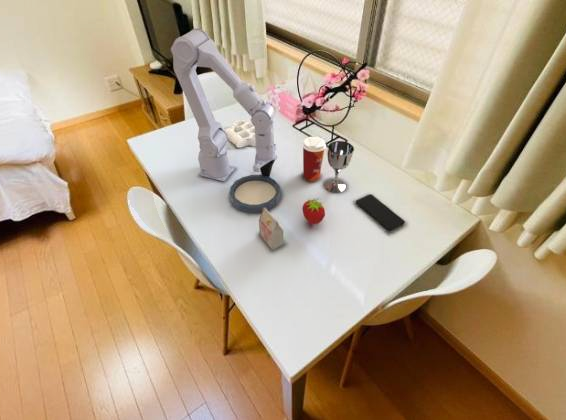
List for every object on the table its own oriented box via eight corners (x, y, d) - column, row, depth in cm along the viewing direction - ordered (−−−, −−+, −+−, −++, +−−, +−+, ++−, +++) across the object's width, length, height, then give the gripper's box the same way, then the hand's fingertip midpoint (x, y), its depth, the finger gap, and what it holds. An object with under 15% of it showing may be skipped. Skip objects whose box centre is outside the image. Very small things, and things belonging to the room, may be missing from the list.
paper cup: (320, 184, 104) (324, 149, 94) (298, 181, 105) (300, 146, 95) (323, 171, 109) (327, 136, 100) (302, 168, 110) (304, 134, 101)
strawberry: (313, 212, 94) (315, 187, 87) (327, 228, 89) (331, 203, 82) (297, 219, 92) (298, 194, 85) (311, 236, 87) (313, 210, 80)
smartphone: (370, 193, 100) (406, 221, 90) (370, 195, 100) (405, 223, 91) (354, 200, 97) (389, 230, 88) (354, 202, 97) (388, 232, 88)
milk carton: (270, 229, 89) (270, 204, 82) (283, 244, 84) (283, 219, 78) (259, 234, 87) (258, 209, 80) (271, 250, 83) (271, 225, 76)
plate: (221, 205, 95) (220, 199, 94) (244, 176, 106) (243, 170, 105) (268, 218, 92) (268, 212, 90) (287, 187, 103) (287, 181, 101)
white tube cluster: (219, 133, 127) (248, 123, 133) (241, 153, 117) (272, 141, 123) (218, 126, 124) (248, 116, 131) (240, 145, 114) (272, 134, 121)
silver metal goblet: (351, 185, 104) (359, 147, 93) (337, 196, 99) (344, 158, 89) (332, 175, 108) (338, 138, 97) (318, 185, 103) (322, 147, 93)
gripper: (267, 157, 89) (268, 192, 98) (284, 134, 99) (284, 168, 108) (245, 152, 91) (248, 187, 100) (264, 130, 100) (266, 163, 110)
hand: (266, 177), depth 104 cm, fingers closed
